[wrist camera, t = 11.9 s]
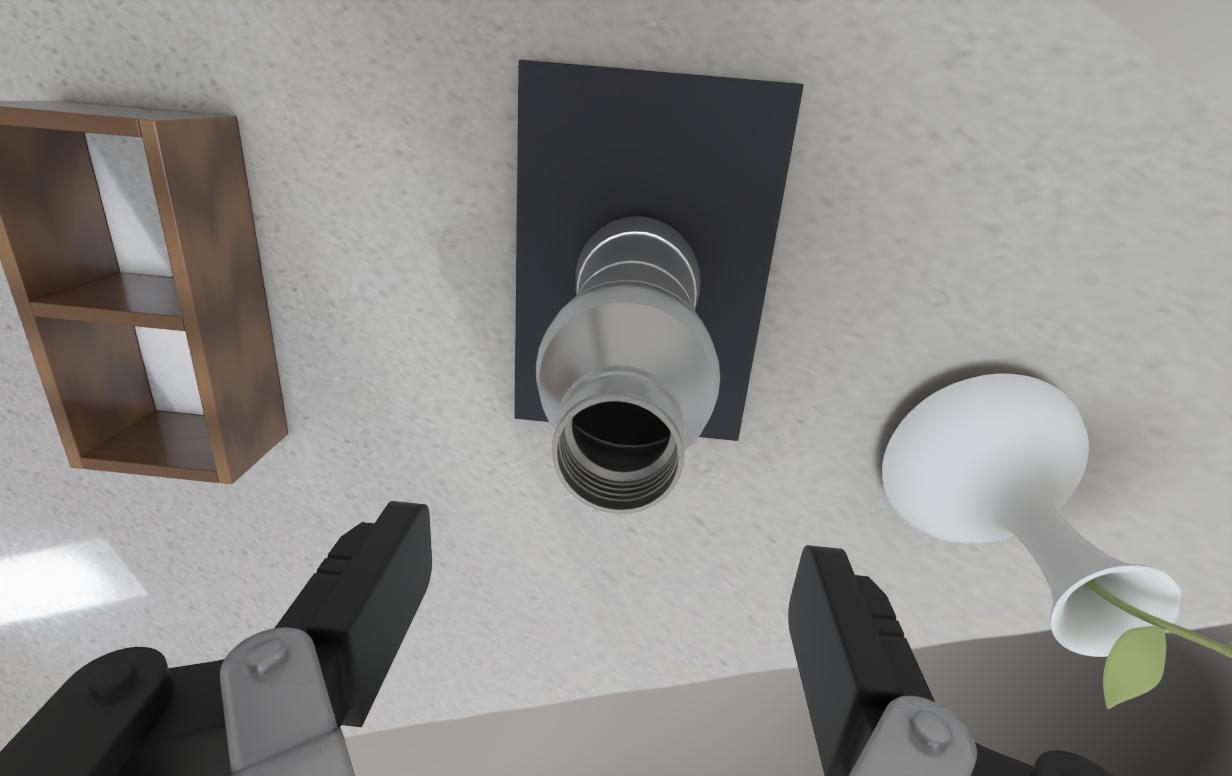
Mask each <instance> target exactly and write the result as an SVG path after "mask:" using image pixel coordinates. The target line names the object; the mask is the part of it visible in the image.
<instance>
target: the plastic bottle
mask: <svg viewBox="0 0 1232 776" xmlns="http://www.w3.org/2000/svg"><path fill="white" fill-rule="evenodd" d="M700 282H701V281H700V270H699V266H698V263H697V259H696V256H695V254H694V252H693V251H692V249H691V247H690V245H689V244H688V243H687V241H686V240H685V239H684V238H683V236H682V235H681V234H679V233H678V232H677V231H676V230H675V229H673V228H672V227H670V226H669V225H667V224H665V223H663V222H661V221H659V220H656V219H652V218H649V217H640V216H634V217H626V218H621V219H619V220H616V221H613V222H610V223H609V224H607V225H605V226H604V227H602V228H601V229H599V230H598V231H597V232H596V233H595V234H594V235H593V236H592V237H591V238H590V239H589V241H588V242H587V243H586V245H585V246H584V248H583V250H582V252H581V255H580V257H579V259H578V264H577V269H576V295H577V296H576V297H574V298H573V299H572V300H571V301H570V302H569V303H568V304H567V305H565V306H564V307H563V308H562V309H561V311H560V312H559V313H558V315H557V316H556V318H555V319H554V320H553V322H552V323H551V325H550V326H549V328H548V329H547V330H546V333H545V335H544V337H543V340H542V342H541V344H540V347H539V352H538V357H537V362H536V381H537V385H538V390H539V394H540V399H541V403H542V407H543V410H544V412H545V414H546V416H547V419H548V421H549V423H550V424H551V426H552V427H553V429H554V430H555V433H554V437H553V442H552V454H553V462H554V467H555V470H556V472H557V475H558V477H559V479H560V481H561V482H562V483H563V485H564V486H565V488H566V489H567V490H568V491H569V492H570V493H571V494H572V495H573V496H574V497H575V498H576V499H578V500H579V501H581V502H582V503H584V504H585V505H587V506H590V507H592V508H594V509H596V510H600V511H604V512H607V513H616V514H627V513H635V512H639V511H643V510H646V509H648V508H650V507H652V506H655V505H656V504H658V503H659V502H660V501H662V500H663V499H665V498H666V497H667V496H668V495H669V493H670V492H671V491H672V490H673V489H674V487H675V485H676V484H677V482H678V480H679V478H680V475H681V472H682V468H683V465H684V455H685V452H684V450H686V449H687V448H688V447H690V445H691V444H692V443H693V442H694V441H695V440H696V439H697V438H698V437H699V435H700V434H701V432H702V431H703V429H704V427H705V426H706V424H707V422H708V420H709V418H710V416H711V414H712V412H713V409H714V406H715V403H716V400H717V398H718V392H719V384H720V372H719V361H718V358H717V354H716V351H715V348H714V345H713V342H712V340H711V337H710V335H709V333H708V331H707V329H706V328H705V326H704V324H703V322H702V320H701V319H700V318H699V316H698V315H697V313H696V312H695V308H696V305H697V302H698V297H699V292H700Z"/></svg>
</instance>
